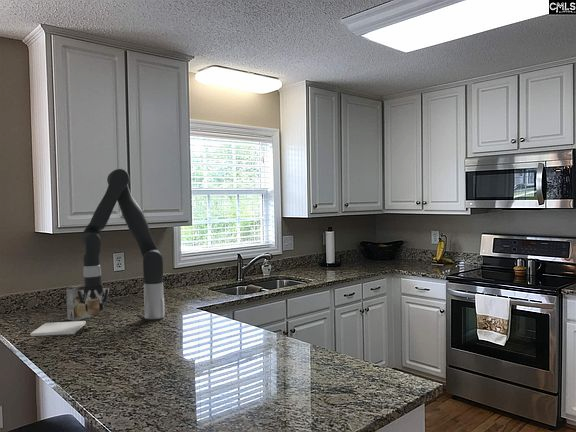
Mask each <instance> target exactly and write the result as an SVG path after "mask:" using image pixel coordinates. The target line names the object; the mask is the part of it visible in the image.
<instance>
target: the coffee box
mask: <svg viewBox="0 0 576 432" xmlns="http://www.w3.org/2000/svg"><path fill="white" fill-rule="evenodd" d="M79 290H84V284H79V285H72V286H67V287H66V288H65V291H66V292H65V293H66V310H67V312H66V314H67V320H70V321H71V322H74V321H80V320H81V321H82V320H85V319H89V318H92V315H88V312H87V311H86V307H85V304H83V303H81V302H80V299H79V296H78V291H79ZM83 297H84V300H85V301H86V297H87V294H86V293H85V292H84V294H83Z"/></svg>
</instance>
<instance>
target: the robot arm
mask: <svg viewBox="0 0 576 432" xmlns="http://www.w3.org/2000/svg"><path fill="white" fill-rule="evenodd" d="M106 182H107V188H106V191H105V194H104V195H103V197H102V199H101V200H100V202H99V203H98V205H97V207H96V209H95V210H94V213H93V214H92V217H91V218H90V222H89V223H88V225H86V227H85V228H84V230H83V232H82V234H81V236H80V244H81V245H82V246H83V247H85V253H84V254H83V259H82V260H83V283H84V284H83V285H84V290H79V291H78V296H79V299H80V302H81V303H83V304H85V307H86V311H87V312H88V308H87V302H88V301H89V300H91V299H92V298H96V299H98V300H99V302H100V311H102V312H103V310H104V308H105V307H104V304H105V303H106V302H107V301H108V299H109V293H110V288H108V287H107V288H105V287H103V279H102V268H101V267H102V266H101V259H100V258H101V257H100V255H101V246H102V238H101V236H100V235H99V234H100V233H101V231H103V230H104V229H105V228H106V227H107V224H108V222H109V220H110V218H111V215H112V213H113V210H114V207H116V203H118V206H119V208H120V211H121V214H122V216H123V219H124V222H125V223H126V226H127V227H128V230H129V232H130V233H131V235H132V237H133V238H134V240H135V241H136V243H137V245H138V247H139V250H140V253H141V257H142V267H143V269H142V271H143V272H142V273H143V276H142V277H143V300H144V302H143V303H144V319H145V320H158V319H159V320H160V319H164V318H165V315H166V313H165V296H164V260H163V259H164V258H163V255H162V253H161V252H160V250H159V249H158V247H157V245H156V243H155V241H154V239H153V236H152V234H151V230H150V227H149V224H148V220H147V218H146V216H145V214H144V212H143V210H142V208H141V207H140V205H139V204H138V203H137V200H135V198H134V197H133V195H132V192H131V190H130V188H129V184H130V175H129V173H128V171H127V170H126V169H122V168H117V169H114V170H112V171H111V172H110V173H108V175H107V181H106ZM84 292H85V293H86V294H87V297H86V301H85V300H84V297H83V294H84ZM102 292H103V293H104V298H103V296H102Z"/></svg>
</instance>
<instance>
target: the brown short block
mask: <svg viewBox="0 0 576 432" xmlns="http://www.w3.org/2000/svg"><path fill="white" fill-rule="evenodd" d="M87 308H88V315H91V316H92V315H100V314H101V313H102V312H103V310H102V311H100V302H99V300H98V299H97V298H95V299H92V298H90V300H89V301H88V302H87Z"/></svg>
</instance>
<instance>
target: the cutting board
mask: <svg viewBox="0 0 576 432" xmlns="http://www.w3.org/2000/svg"><path fill="white" fill-rule="evenodd" d="M86 324H87V322H86V320H81V321H80V320H77V321H57V322H45V323H43V324H42V325H41V326H39V327H38V328H36V329H35V330H33V331H32V332H30V337H36V336H37V337H39V336H58V335H59V336H60V335H75V334H76V333H77V332H78V331H80V329H81V328H82V327H83V326H85V325H86Z"/></svg>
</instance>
